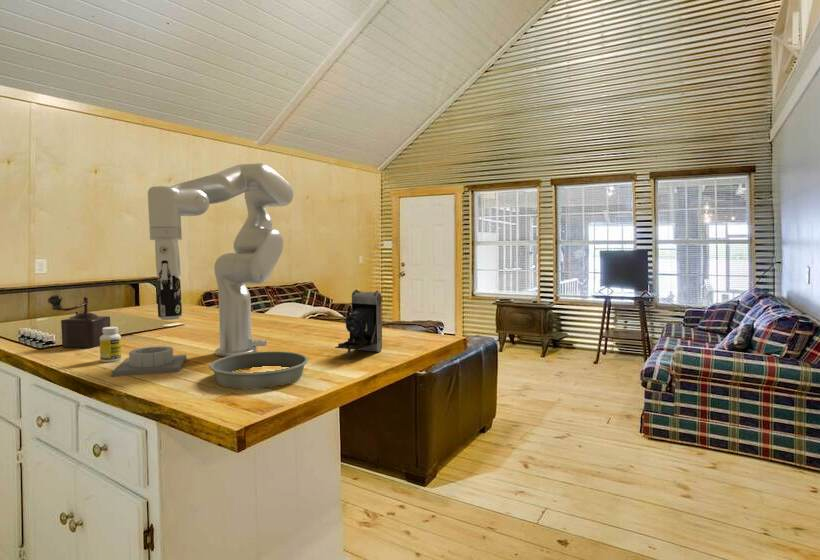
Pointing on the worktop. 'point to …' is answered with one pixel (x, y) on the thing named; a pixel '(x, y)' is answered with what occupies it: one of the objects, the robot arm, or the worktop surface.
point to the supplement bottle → (110, 345)
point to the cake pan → (258, 359)
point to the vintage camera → (364, 322)
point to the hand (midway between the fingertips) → (169, 302)
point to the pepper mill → (80, 325)
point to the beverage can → (169, 310)
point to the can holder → (150, 361)
